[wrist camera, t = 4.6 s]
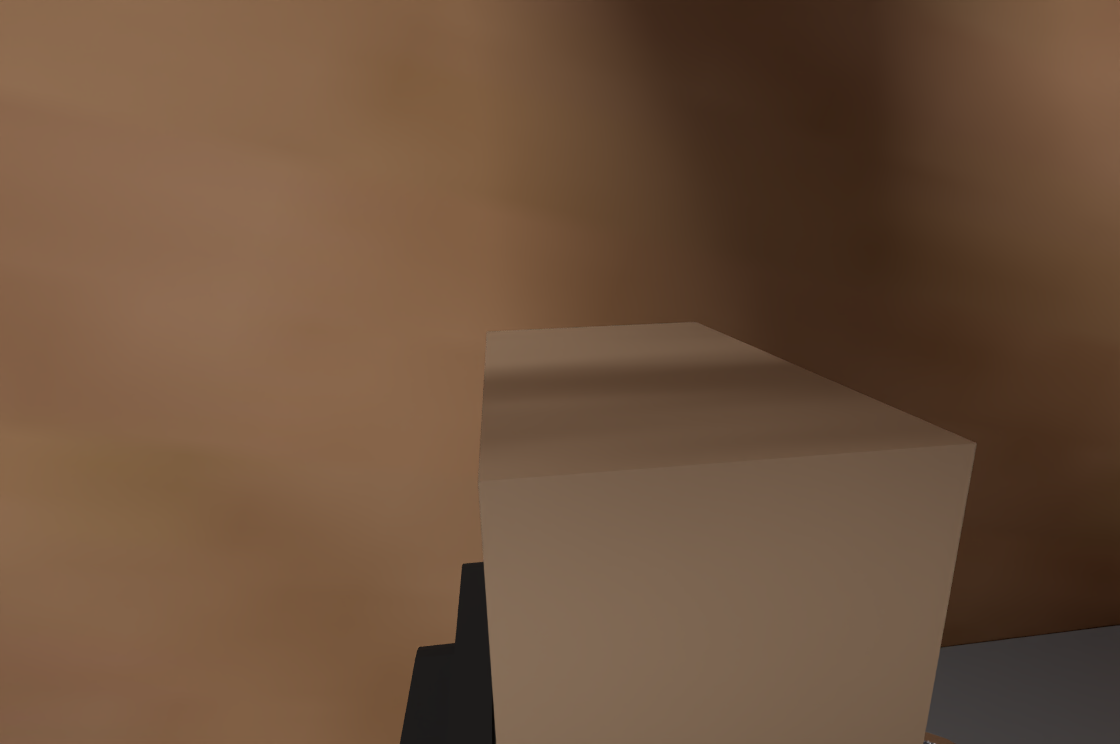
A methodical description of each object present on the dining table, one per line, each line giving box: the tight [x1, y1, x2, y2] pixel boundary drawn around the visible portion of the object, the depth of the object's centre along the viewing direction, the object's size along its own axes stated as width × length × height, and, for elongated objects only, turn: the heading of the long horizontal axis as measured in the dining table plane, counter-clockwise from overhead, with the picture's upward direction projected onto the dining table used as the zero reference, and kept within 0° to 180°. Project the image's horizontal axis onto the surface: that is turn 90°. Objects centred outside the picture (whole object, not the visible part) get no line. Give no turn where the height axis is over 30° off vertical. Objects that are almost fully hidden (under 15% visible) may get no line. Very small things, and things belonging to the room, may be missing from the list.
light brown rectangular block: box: [478, 322, 977, 744], centre depth 8 cm, size 11×4×6 cm, turn 2°
